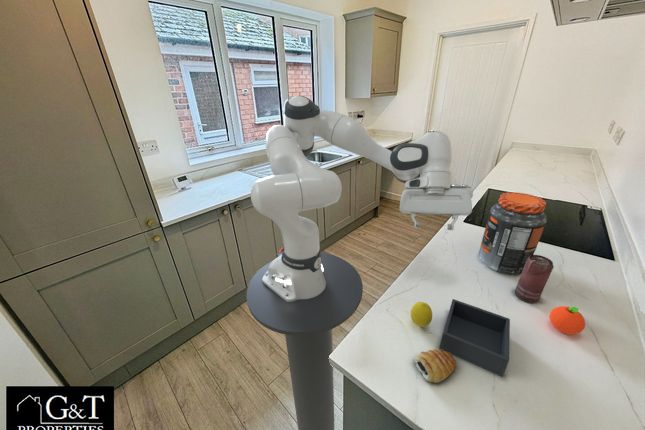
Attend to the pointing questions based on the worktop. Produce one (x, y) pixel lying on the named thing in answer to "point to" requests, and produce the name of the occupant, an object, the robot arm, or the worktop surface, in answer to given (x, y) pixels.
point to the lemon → (421, 314)
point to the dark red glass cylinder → (533, 278)
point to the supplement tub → (512, 232)
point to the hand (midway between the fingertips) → (433, 229)
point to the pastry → (435, 365)
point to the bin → (477, 336)
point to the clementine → (567, 319)
